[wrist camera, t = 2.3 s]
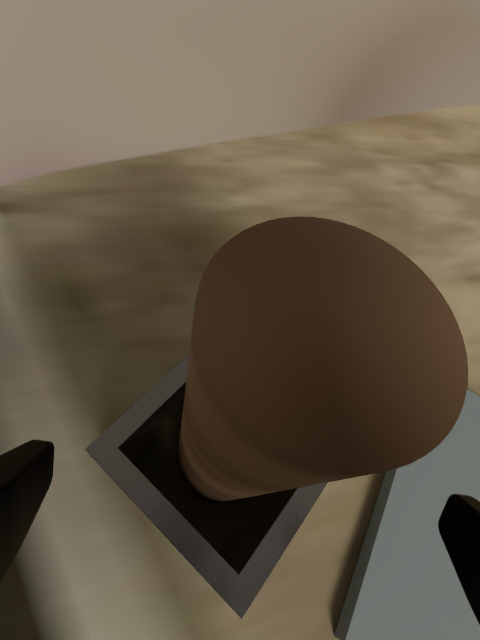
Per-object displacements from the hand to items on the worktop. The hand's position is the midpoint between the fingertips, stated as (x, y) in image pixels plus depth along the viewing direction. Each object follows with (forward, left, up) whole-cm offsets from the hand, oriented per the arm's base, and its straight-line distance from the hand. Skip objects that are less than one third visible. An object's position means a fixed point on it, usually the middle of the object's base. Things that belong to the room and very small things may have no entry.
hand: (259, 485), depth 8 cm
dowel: (+2, +1, -10) cm, 10 cm away
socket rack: (+2, +1, -10) cm, 10 cm away
